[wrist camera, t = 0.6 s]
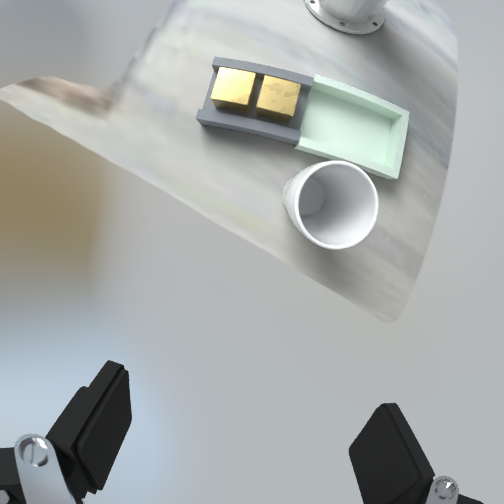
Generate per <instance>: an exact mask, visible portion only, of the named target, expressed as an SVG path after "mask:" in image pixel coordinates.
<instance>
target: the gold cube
mask: <svg viewBox="0 0 504 504" xmlns="http://www.w3.org/2000/svg"><path fill="white" fill-rule="evenodd" d="M255 85H256V73H252V72H247V71H241V70H236V69H229V68H223V67H220V69H219V72H218V76H217V79H216V82H215V85H214V88H213V92H212V95H211V100H212V102H213V104H214V106H215V108H221V109H226V110H231V111H237V112H241V113H246V114H248V111H249V107H250V104H251V100H252V96H253V93H254V89H255Z"/></svg>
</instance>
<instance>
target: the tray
mask: <svg viewBox="0 0 504 504" xmlns="http://www.w3.org/2000/svg"><path fill="white" fill-rule="evenodd" d="M313 78H314V81H313V85H312V88H311V89H310V91H309V94H308V98H307V102H306V107H305V111H304V115H303V119H302V123H301V128H300V131H302V132H301V136H300V141H299V142H298V143H297V144H296V145H295V148H294V149H297V150H300V151H304V152H307V153H311V154H314V155H318V156H321V157H324V158H327V159H330V160H334V161H345V162H348V163H351V164H354V165H356V166H357V167H359V168H360V169H362V170H363V171H366V172H369V173H371V174H374V175H377V176H379V177H383V178H386V179H398V176H399V171H400V166H401V162H402V156H403V151H404V145H405V140H406V134H407V127H408V120H409V113H410V112H409V111H407V110H405V109H403V108H400V107H398V106H396V105H394V104H392V103H390V102H388V101H385V100H383V99H381V98H379V97H376V96H374V95H372V94H369V93H367V92H364V91H362V90H359V89H357V88H354V87H351V86H349V85H346V84H343V83H341V82H338V81H335V80H332V79H329V78H326V77H323V76H320V75H316V74H315V75H314V77H313Z"/></svg>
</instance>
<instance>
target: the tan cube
mask: <svg viewBox="0 0 504 504" xmlns="http://www.w3.org/2000/svg"><path fill="white" fill-rule="evenodd" d="M300 86H301V84H298V83H295V82H291V81H287V80H283V79H279V78H275V77H271V76H266V75H265V77H264V81H263V84H262V88H261V91H260V95H259V99H258V103H257V106H256V116H260V117H264V118H268V119H273V120H277V121H280V122H284V123H288V124H289V122H290V120H291V119H292V117H293V115H294V111H295V107H296V103H297V99H298V94H299V90H300Z"/></svg>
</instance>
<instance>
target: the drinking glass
mask: <svg viewBox="0 0 504 504" xmlns="http://www.w3.org/2000/svg"><path fill="white" fill-rule="evenodd" d="M282 199H283V203H284V206H285V208H286V209H287V211H288V214H289V216H290V218H291V220H292V222H293V224H294V225H295V226H296V228H297V229H298V230H299V231H300V232H301V233H302V234H303V235H304V236H305V237H307V238H308V239H309V240H311V241H312V242H313V243H315V244H317V245H319V246H321V247H323V248H327V249H332V250H342V249H347V248H350V247H353V246H355V245H357V244H358V243H360V242H361V241H362V240H364V239H365V238H366V237H367V236H368V234H369V233H370V232H371V230H372V229H373V227H374V225H375V222H376V220H377V216H378V210H379V201H378V195H377V191H376V188H375V186H374V184H373V182H372V180H371V179H370V178H369V176H368V175H367V174H366V173H365V172H364V171H363V170H362V169H360V168H359V167H357V166H356V165H354V164H351V163H348V162H345V161H326V162H320V163H317V164H314V165H311V166H309V167H307V168H305V169H303V170H302V171H301V172H299V173H298V174H297V175H296V176H295V177H293V178H292V179H290V180H289V181H288V182H287V183H286V185H285V187H284V189H283V193H282Z"/></svg>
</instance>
